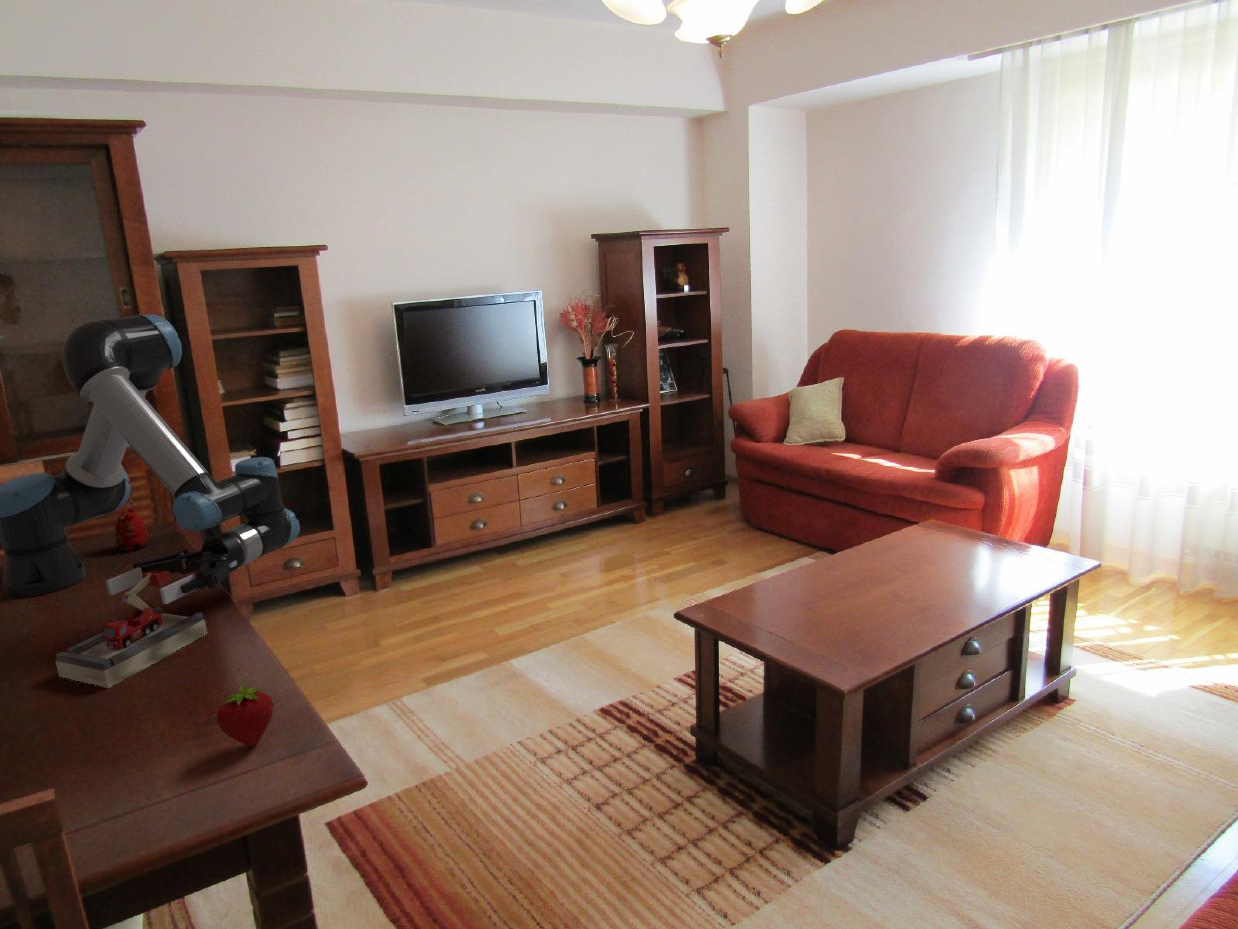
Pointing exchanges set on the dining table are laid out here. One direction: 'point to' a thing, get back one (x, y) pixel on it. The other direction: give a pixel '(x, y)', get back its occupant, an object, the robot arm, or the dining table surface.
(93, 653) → the dock
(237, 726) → the strawberry
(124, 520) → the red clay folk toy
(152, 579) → the toy fire truck
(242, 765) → the dining table surface
